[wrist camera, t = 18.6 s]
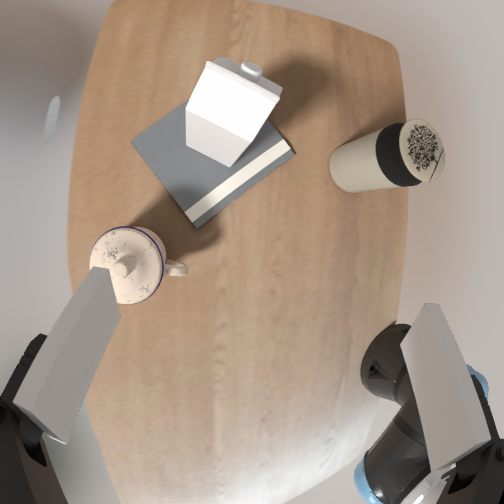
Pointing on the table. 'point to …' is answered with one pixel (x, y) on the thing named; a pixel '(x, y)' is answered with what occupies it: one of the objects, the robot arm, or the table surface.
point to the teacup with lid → (134, 262)
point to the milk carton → (228, 109)
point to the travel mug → (389, 158)
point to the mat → (206, 165)
